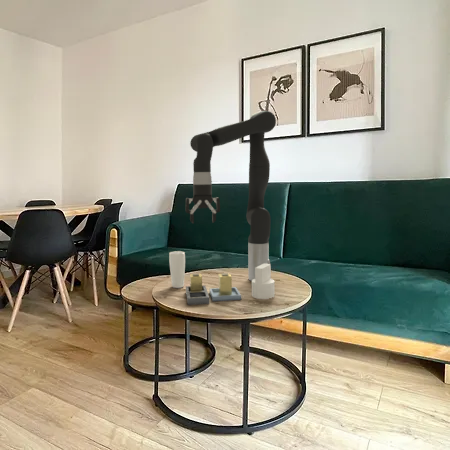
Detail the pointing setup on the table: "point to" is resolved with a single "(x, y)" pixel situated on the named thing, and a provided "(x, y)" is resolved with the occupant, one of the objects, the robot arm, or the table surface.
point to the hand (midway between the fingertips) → (203, 222)
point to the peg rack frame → (197, 296)
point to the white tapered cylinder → (177, 268)
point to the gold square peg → (225, 284)
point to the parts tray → (216, 297)
